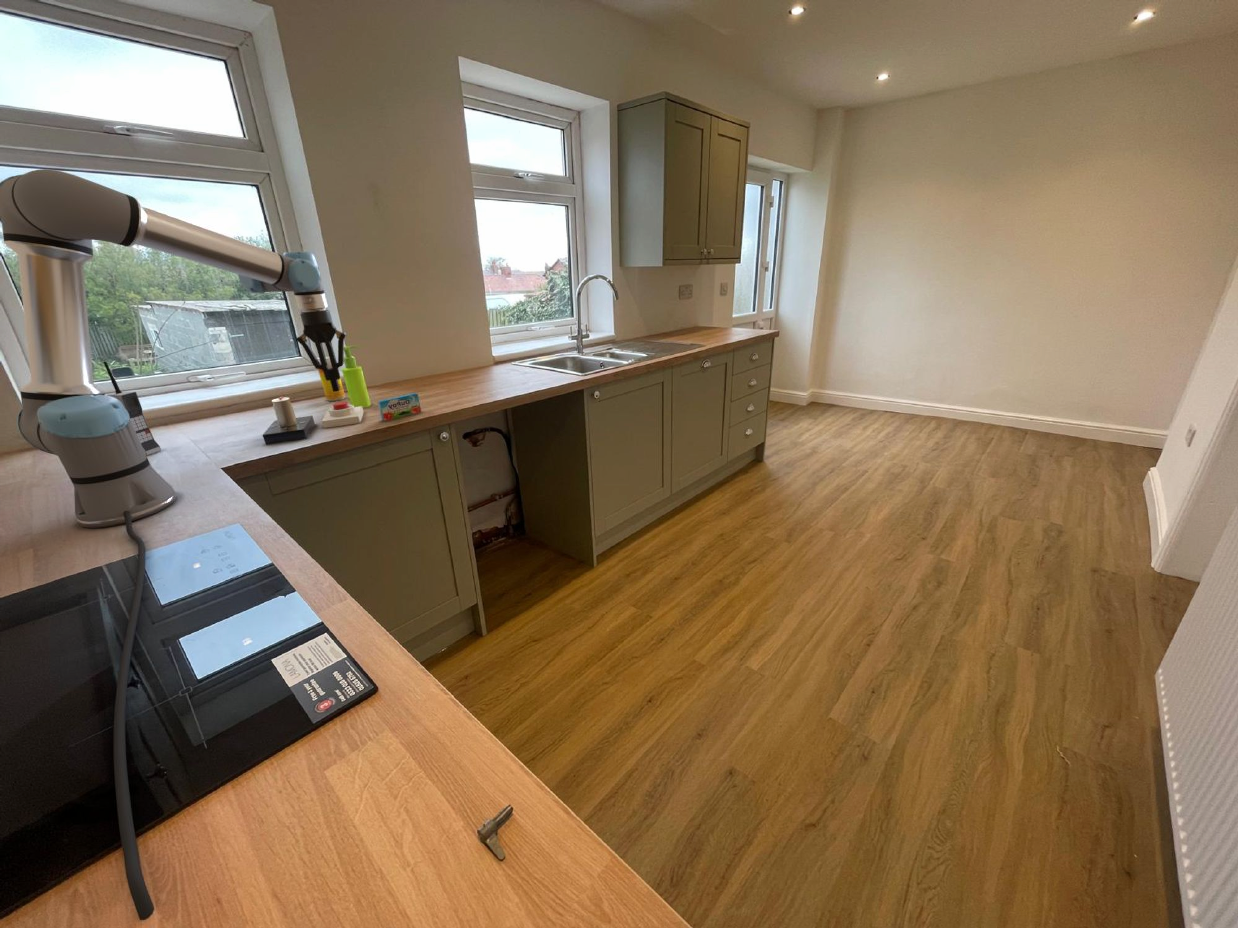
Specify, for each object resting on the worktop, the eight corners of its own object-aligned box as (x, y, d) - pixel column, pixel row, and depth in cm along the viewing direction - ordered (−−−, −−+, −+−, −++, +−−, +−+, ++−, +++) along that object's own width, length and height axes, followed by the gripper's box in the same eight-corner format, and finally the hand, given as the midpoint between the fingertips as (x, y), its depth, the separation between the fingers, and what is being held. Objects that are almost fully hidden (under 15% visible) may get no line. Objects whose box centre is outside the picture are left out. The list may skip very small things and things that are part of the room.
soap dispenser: (377, 404, 172) (362, 345, 164) (358, 409, 166) (342, 349, 159) (367, 402, 175) (352, 344, 167) (348, 407, 169) (332, 348, 162)
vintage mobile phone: (147, 455, 134) (105, 363, 124) (133, 455, 135) (90, 363, 125) (162, 450, 138) (122, 359, 128) (147, 449, 139) (107, 359, 129)
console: (306, 439, 141) (303, 428, 140) (265, 445, 138) (262, 434, 137) (315, 424, 153) (312, 415, 152) (277, 430, 150) (274, 420, 149)
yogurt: (384, 421, 153) (379, 402, 151) (382, 420, 154) (377, 401, 151) (421, 412, 161) (417, 393, 158) (419, 411, 162) (415, 392, 159)
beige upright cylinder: (295, 425, 143) (287, 399, 140) (278, 428, 142) (269, 401, 139) (298, 421, 147) (290, 395, 144) (281, 423, 146) (273, 397, 142)
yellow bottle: (340, 401, 178) (328, 359, 172) (323, 402, 178) (311, 359, 172) (348, 396, 183) (337, 355, 177) (332, 397, 183) (321, 356, 177)
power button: (347, 409, 154) (346, 404, 153) (333, 411, 153) (331, 406, 152) (349, 406, 157) (347, 401, 157) (335, 408, 156) (333, 402, 155)
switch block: (360, 423, 153) (356, 410, 151) (323, 428, 150) (319, 415, 148) (363, 412, 163) (360, 400, 162) (329, 417, 160) (326, 405, 158)
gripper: (285, 313, 138) (310, 396, 147) (337, 309, 142) (358, 390, 151) (291, 310, 145) (314, 390, 154) (341, 307, 149) (361, 384, 158)
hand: (336, 390), depth 153 cm, fingers closed
